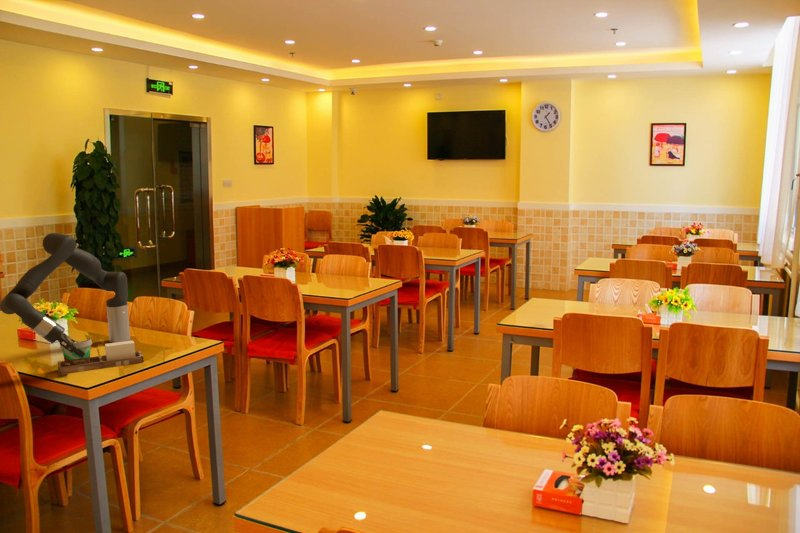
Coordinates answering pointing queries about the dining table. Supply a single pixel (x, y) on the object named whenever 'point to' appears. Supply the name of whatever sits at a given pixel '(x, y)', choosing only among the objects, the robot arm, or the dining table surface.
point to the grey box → (120, 350)
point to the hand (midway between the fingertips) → (83, 353)
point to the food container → (75, 359)
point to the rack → (98, 363)
